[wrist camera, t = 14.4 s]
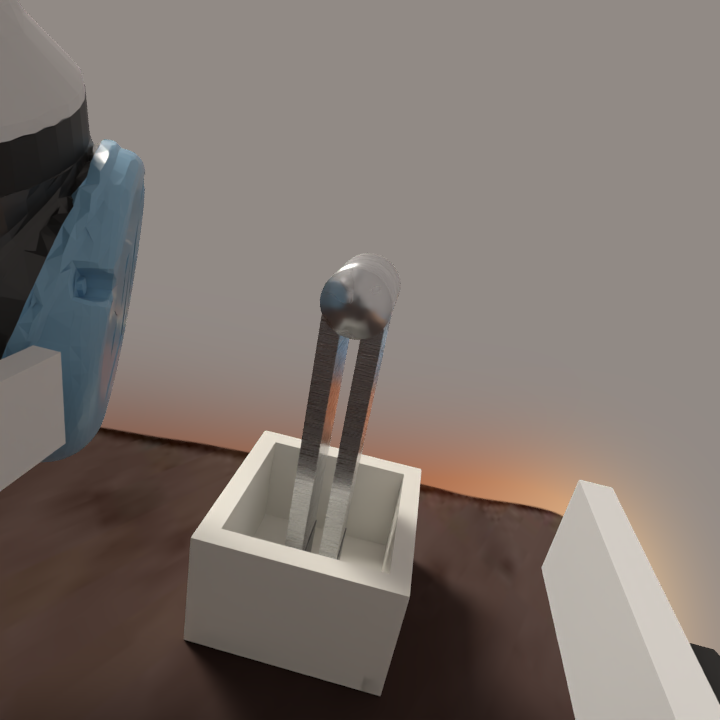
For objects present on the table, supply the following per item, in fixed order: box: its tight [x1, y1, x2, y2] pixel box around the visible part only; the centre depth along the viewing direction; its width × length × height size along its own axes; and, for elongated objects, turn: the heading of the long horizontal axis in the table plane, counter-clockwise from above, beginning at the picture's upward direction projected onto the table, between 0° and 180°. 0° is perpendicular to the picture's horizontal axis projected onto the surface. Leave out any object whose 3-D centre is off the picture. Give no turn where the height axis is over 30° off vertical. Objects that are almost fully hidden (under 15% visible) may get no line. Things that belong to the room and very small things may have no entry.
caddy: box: [184, 431, 421, 696], centre depth 28 cm, size 10×10×6 cm
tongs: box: [285, 253, 400, 560], centre depth 26 cm, size 3×5×18 cm, turn 171°
